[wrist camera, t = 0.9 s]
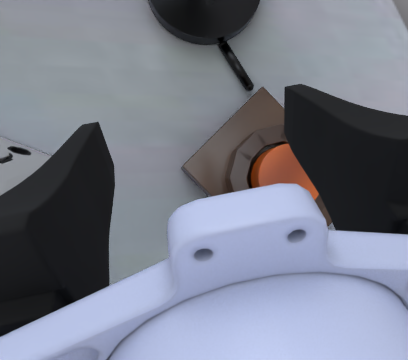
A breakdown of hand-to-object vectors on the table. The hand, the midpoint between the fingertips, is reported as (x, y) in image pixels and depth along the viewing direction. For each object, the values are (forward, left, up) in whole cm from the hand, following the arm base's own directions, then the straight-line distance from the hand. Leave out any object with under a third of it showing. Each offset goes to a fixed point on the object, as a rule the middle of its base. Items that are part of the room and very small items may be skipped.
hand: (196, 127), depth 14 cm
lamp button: (-5, -5, -11) cm, 13 cm away
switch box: (-5, -5, -14) cm, 16 cm away
